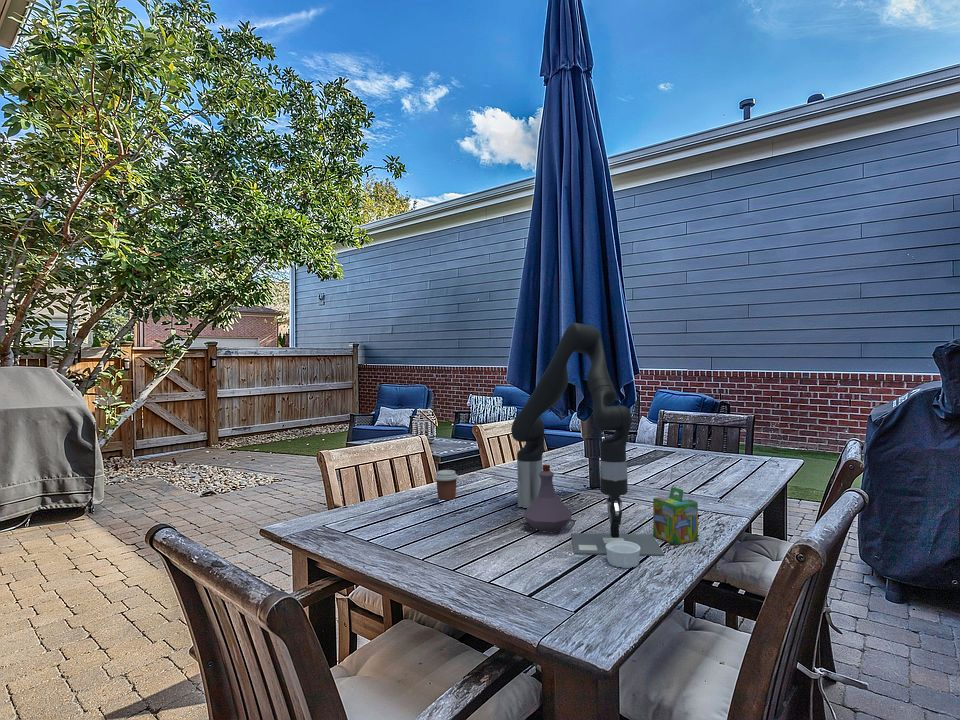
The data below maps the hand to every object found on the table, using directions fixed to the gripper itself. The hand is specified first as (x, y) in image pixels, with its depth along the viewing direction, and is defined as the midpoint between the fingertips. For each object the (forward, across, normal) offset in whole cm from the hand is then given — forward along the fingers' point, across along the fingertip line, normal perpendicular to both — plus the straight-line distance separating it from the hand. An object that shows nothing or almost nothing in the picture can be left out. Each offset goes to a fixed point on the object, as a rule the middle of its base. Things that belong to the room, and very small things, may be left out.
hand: (614, 536), depth 144 cm
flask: (+3, -16, -19) cm, 25 cm away
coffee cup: (+4, -43, -57) cm, 71 cm away
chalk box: (+3, -8, +19) cm, 20 cm away
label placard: (+3, -2, 0) cm, 3 cm away
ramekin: (+3, +11, +1) cm, 12 cm away
